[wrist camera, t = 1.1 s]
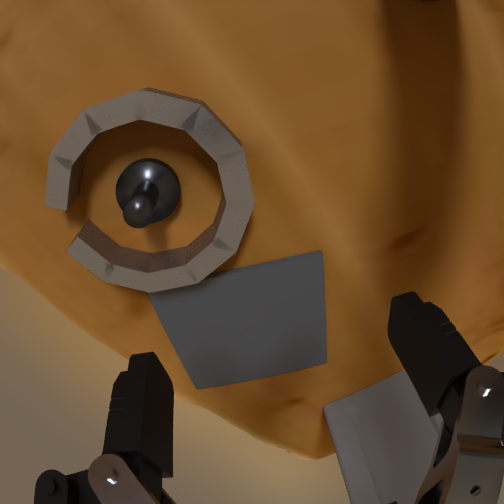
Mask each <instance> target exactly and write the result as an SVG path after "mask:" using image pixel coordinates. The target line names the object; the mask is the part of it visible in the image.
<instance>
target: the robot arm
mask: <svg viewBox="0 0 504 504" xmlns="http://www.w3.org/2000/svg"><path fill="white" fill-rule="evenodd" d="M423 1H437V0H423ZM388 337H389V340H390V343H391V345H392V347H393V349H394V351H395V352H396V354H397V356H398V358H399V360H400V361H401V363H402V365H403V367H404V369H405V371H406V373H407V374H408V376H409V378H410V380H411V382H412V384H413V386H414V388H415V390H416V391H417V393H418V395H419V397H420V399H421V401H422V403H423V405H424V407H425V409H426V411H427V413H428V415H429V417H432V416H434V415H436V414H438V413H440V414H441V416H442V418H443V420H442V422H441V426H440V430H439V435H438V439H437V443H436V446H435V450H434V454H433V457H432V461H431V464H430V467H429V470H428V473H427V475H426V477H425V478H424V480H423V482H422V484H421V487H420V489H419V492H418V495H417V497H416V500H415V503H414V504H497V502H498V498H499V494H500V489H501V485H502V480H503V475H504V446H502V445H501V440H502V442H503V444H504V372H499V371H498V370H497V369H495V368H493V367H491V366H485V365H482V364H481V363H480V361H479V360H478V359H477V357H476V356H475V354H474V353H473V351H472V350H471V349H470V347H469V346H468V344H467V343H466V342H465V340H464V339H463V337H462V336H461V335H460V333H459V332H458V331H456V328H455V326H454V325H453V324H452V322H451V323H450V320H449V318H448V317H447V316H446V314H445V313H444V312H443V311H442V309H440V308H439V307H437V306H436V305H434V304H433V303H431V302H426V303H423V301H422V300H421V299H420V297H419V296H418V295H417V294H416V293H415V292H414V291H411V292H408V293H405V294H402V295H398V296H395V297H393V298H392V300H391V307H390V315H389V322H388ZM111 399H112V400H111V401H110V407H109V409H110V411H109V413H108V419H107V426H106V433H105V440H104V447H103V452H102V455H101V456H99V457H98V458H96V459H95V460H94V461H93V462H92V463H91V465H90V467H89V469H87V470H84V471H81V472H77V473H74V474H70V475H66V476H65V475H64V474H62V473H61V472H59V471H57V470H47V471H45V472H43V473H42V474H41V475H40V476H39V478H38V479H37V482H36V487H35V496H34V504H176V503H175V502H174V501H173V499H172V498H171V497H170V496H169V495H168V494H167V492H166V491H165V490H164V489H163V488H162V478H170V477H173V407H174V389H173V384H172V381H171V379H170V377H169V375H168V374H167V372H166V370H165V369H164V367H163V366H162V364H161V362H160V361H159V359H158V357H157V356H156V354H155V353H154V352H147V353H140V354H134V355H131V357H130V360H129V365H128V371H123V372H121V373H120V374H119V376H118V378H117V379H116V381H115V383H114V384H113V389H112V395H111ZM389 504H397V501H394V502H391V503H389Z"/></svg>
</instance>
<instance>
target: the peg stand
mask: <svg viewBox="0 0 504 504" xmlns="http://www.w3.org/2000/svg"><path fill="white" fill-rule="evenodd" d="M179 195H180V183H179V179H178V177H177V175H176V173H175V172H174V170H173V169H172V168H171V167H170V166H169V165H168V164H166V163H164V162H162V161H160V160H157V159H152V158H145V159H140V160H137V161H135V162H133V163H131V164H130V165H129V166H128V167H127V168H126V169H125V170H124V171H123V173H122V174H121V175H120V177H119V179H118V181H117V184H116V198H117V202H118V204H119V206H120V208H121V209H122V210H123V217H124V220H125V222H126V223H127V224H128V225H129V226H131V227H133V228H143V227H145V226H147V225H148V224H149V223H154V222H158V221H161V220H163V219H165V218H166V217H168V216H169V215H170V214H171V213H172V212H173V211H174V209H175V208H176V206H177V203H178V200H179Z"/></svg>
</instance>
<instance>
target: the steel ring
mask: <svg viewBox="0 0 504 504" xmlns="http://www.w3.org/2000/svg"><path fill="white" fill-rule="evenodd" d="M139 119H140V120H145V121H149V122H153V123H157V124H162V125H166V126H170V127H174V128H177V129H181V130H185V131H186V132H187V133H188V134H189V135H190V136H191V137H192V138H193V139H194V140H195V141H196V142H197V143H198V144H199V145H200V146H201V147H202V148H203V149H204V150H205V151H206V152H207V153H208V154H209V155H210V156H211V157H212V158H213V159H214V160H215V161H216V162H217V165H218V169H219V174H220V178H221V182H222V186H223V191H224V193H223V196H222V199H221V202H220V205H219V208H218V210H217V213H216V216H215V219H214V222H213V224H212V225H211V226H210V227H208V228H207V229H206V230H205V231H204V232H203V233H201V234H200V235H199V236H198V237H197V238H196V239H194V240H193V241H192V242H191V243H190V244H189V245H188V246H185V247H181V248H177V249H172V250H168V251H163V252H159V253H155V254H152V253H147V252H143V251H139V250H135V249H131V248H127V247H123V246H119V245H118V244H117V243H116V242H114V241H113V240H112V239H111V238H110V237H108V236H107V235H106V234H105V233H104V232H102V231H101V230H100V229H99V228H98V227H97V226H95V225H94V224H93V223H92V222H91V221H90V220H88V221H87V223H86V224H85V225H84V226H83V227H82V229H81V230H80V231H79V232H78V234H77V235H76V237H75V238H74V240H73V241H72V243H71V244H70V246H69V248H68V249H67V251H66V252H67V253H69V254H70V255H71V256H72V257H73V258H75V259H76V260H77V261H78V262H80V263H81V264H82V265H83V266H85V267H86V268H87V269H88V270H90V271H91V272H92V273H93V274H95V275H96V276H97V277H99V278H100V279H101V280H102V281H104V282H108V283H112V284H116V285H120V286H124V287H128V288H132V289H136V290H141V291H145V292H149V293H150V292H151V293H152V292H157V291H162V290H167V289H172V288H177V287H182V286H187V285H192V284H196V283H199V282H200V281H201V280H203V279H204V278H205V277H206V276H208V275H209V274H210V273H211V272H213V271H214V270H215V269H216V268H218V267H219V266H220V265H221V264H223V263H224V262H225V261H226V260H228V259H229V258H230V257H231V256H233V255H234V254H235V253H236V252H237V249H238V247H239V244H240V241H241V239H242V236H243V234H244V231H245V229H246V226H247V223H248V221H249V218H250V216H251V213H252V211H253V208H254V204H255V203H254V198H253V193H252V188H251V183H250V177H249V172H248V167H247V162H246V157H245V152H244V149H243V146H242V144H241V141H240V140H239V139H238V138H237V136H236V135H235V134H234V133H233V132H232V131H231V130H230V129H229V128H228V127H227V126H226V125H225V124H224V123H223V122H222V120H221V119H220V118H219V117H218V116H217V115H216V114H215V113H214V112H213V111H212V110H211V109H210V108H209V107H208V106H207V105H206V104H205V103H204V102H202V101H201V100H197V99H194V98H190V97H186V96H182V95H179V94H175V93H170V92H166V91H162V90H158V89H154V88H144V89H141V90H137V91H134V92H131V93H128V94H125V95H122V96H119V97H116V98H113V99H111V100H108V101H105V102H102V103H100V104H97V105H94V106H92V107H89V108H87V109H84V110H83V111H82V112H81V113H80V115H79V116H78V117H77V118H76V120H75V121H74V122H73V123H72V125H71V126H70V127H69V129H68V130H67V131H66V132H65V134H64V135H63V137H62V138H61V139H60V141H59V142H58V143H57V145H56V146H55V148H54V149H53V150H52V152H51V153H50V156H49V165H48V175H47V186H46V200H45V205H46V206H50V207H54V208H58V209H62V210H66V211H67V210H68V208H69V207H70V206H71V205H72V204H73V202H74V201H75V200H76V199H77V198H78V197H79V193H80V186H81V178H82V171H83V165H84V159H85V154H86V153H87V152H88V151H89V149H90V148H91V147H92V146H93V145H94V143H95V142H96V141H97V140H98V139H99V137H100V136H101V135H102V134H103V133H104V132H105V131H106V130H109V129H111V128H114V127H117V126H120V125H123V124H126V123H130V122H133V121H136V120H139Z"/></svg>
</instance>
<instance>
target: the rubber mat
mask: <svg viewBox="0 0 504 504" xmlns="http://www.w3.org/2000/svg"><path fill="white" fill-rule="evenodd" d="M147 294H148V296H149V298H150V300H151V302H152V305H153V307H154V309H155V311H156V313H157V315H158V317H159V319H160V321H161V323H162V325H163V327H164V329H165V331H166V333H167V335H168V337H169V339H170V341H171V343H172V345H173V347H174V348H175V350H176V352H177V354H178V356H179V358H180V360H181V362H182V363H183V365H184V367H185V369H186V371H187V373H188V374H189V376H190V378H191V380H192V382H193V383H194V385H195V387H196V389H204V388H211V387H217V386H223V385H229V384H234V383H240V382H245V381H250V380H255V379H260V378H265V377H270V376H275V375H279V374H284V373H288V372H293V371H297V370H301V369H305V368H309V367H313V366H317V365H321V364H325V363H327V354H326V312H325V288H324V268H323V254H322V252H321V250H320V251H316V252H311V253H307V254H302V255H298V256H293V257H289V258H284V259H280V260H275V261H271V262H266V263H261V264H257V265H252V266H248V267H243V268H238V269H234V270H229V271H224V272H220V273H215V274H210V275H208V276H206V277H205V278H204V279H203V280H201V281H200V282H199V283H196V284H192V285H187V286H182V287H177V288H172V289H167V290H162V291H157V292H152V293H151V292H150V293H149V292H147Z"/></svg>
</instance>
